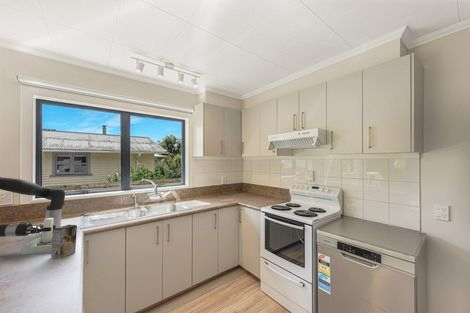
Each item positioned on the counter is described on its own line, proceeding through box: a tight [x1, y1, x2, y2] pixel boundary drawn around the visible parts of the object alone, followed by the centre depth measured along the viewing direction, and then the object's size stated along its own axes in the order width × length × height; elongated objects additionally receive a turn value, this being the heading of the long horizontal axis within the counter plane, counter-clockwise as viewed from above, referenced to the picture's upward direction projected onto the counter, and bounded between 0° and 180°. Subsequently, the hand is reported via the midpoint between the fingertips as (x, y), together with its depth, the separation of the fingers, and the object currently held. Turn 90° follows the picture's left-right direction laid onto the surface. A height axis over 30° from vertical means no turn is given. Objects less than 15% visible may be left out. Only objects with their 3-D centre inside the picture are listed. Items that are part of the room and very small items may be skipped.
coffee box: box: [50, 224, 78, 260], centre depth 116 cm, size 9×6×16 cm
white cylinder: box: [41, 217, 54, 243], centre depth 126 cm, size 4×4×14 cm
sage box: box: [19, 235, 53, 255], centre depth 126 cm, size 18×16×4 cm
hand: (53, 228), depth 127 cm, fingers closed on white cylinder, 4 cm apart
